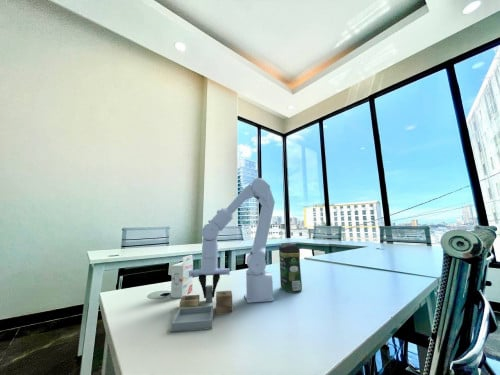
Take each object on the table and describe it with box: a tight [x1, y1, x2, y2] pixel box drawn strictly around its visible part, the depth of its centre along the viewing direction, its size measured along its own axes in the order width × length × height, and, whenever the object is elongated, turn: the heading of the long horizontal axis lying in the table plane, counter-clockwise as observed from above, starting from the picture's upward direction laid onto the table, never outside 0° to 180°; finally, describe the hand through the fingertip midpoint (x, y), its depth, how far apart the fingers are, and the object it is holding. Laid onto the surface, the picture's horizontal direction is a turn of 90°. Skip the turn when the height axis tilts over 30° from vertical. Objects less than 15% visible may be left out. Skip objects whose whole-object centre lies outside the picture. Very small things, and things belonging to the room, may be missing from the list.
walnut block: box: [215, 290, 233, 315], centre depth 66 cm, size 5×5×5 cm
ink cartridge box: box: [170, 254, 194, 299], centre depth 83 cm, size 9×5×15 cm, turn 168°
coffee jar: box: [278, 242, 303, 293], centre depth 87 cm, size 10×8×19 cm
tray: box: [170, 305, 214, 333], centre depth 58 cm, size 10×10×2 cm
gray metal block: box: [205, 284, 213, 304], centre depth 74 cm, size 2×2×5 cm
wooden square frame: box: [179, 294, 201, 308], centre depth 68 cm, size 6×6×3 cm
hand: (209, 296), depth 74 cm, fingers closed on gray metal block, 2 cm apart
